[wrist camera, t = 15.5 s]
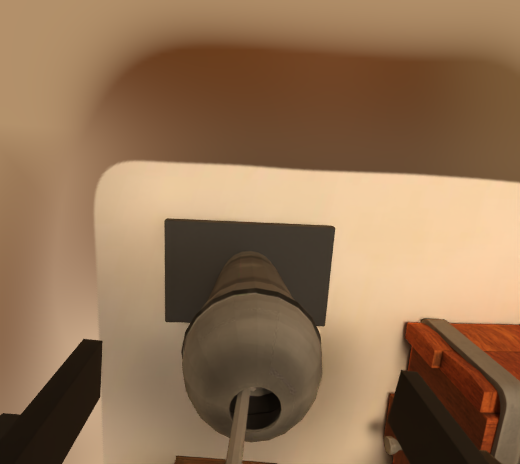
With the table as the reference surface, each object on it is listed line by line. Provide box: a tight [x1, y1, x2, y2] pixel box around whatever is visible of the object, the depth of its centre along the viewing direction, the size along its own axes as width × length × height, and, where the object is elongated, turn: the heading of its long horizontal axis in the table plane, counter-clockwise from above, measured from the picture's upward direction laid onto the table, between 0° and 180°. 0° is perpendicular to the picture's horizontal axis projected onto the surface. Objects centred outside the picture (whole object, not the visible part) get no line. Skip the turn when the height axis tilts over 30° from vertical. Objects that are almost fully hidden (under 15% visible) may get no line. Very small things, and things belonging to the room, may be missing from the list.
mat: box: [165, 219, 335, 326], centre depth 29 cm, size 14×9×1 cm, turn 87°
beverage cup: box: [182, 251, 322, 464], centre depth 19 cm, size 7×7×20 cm
